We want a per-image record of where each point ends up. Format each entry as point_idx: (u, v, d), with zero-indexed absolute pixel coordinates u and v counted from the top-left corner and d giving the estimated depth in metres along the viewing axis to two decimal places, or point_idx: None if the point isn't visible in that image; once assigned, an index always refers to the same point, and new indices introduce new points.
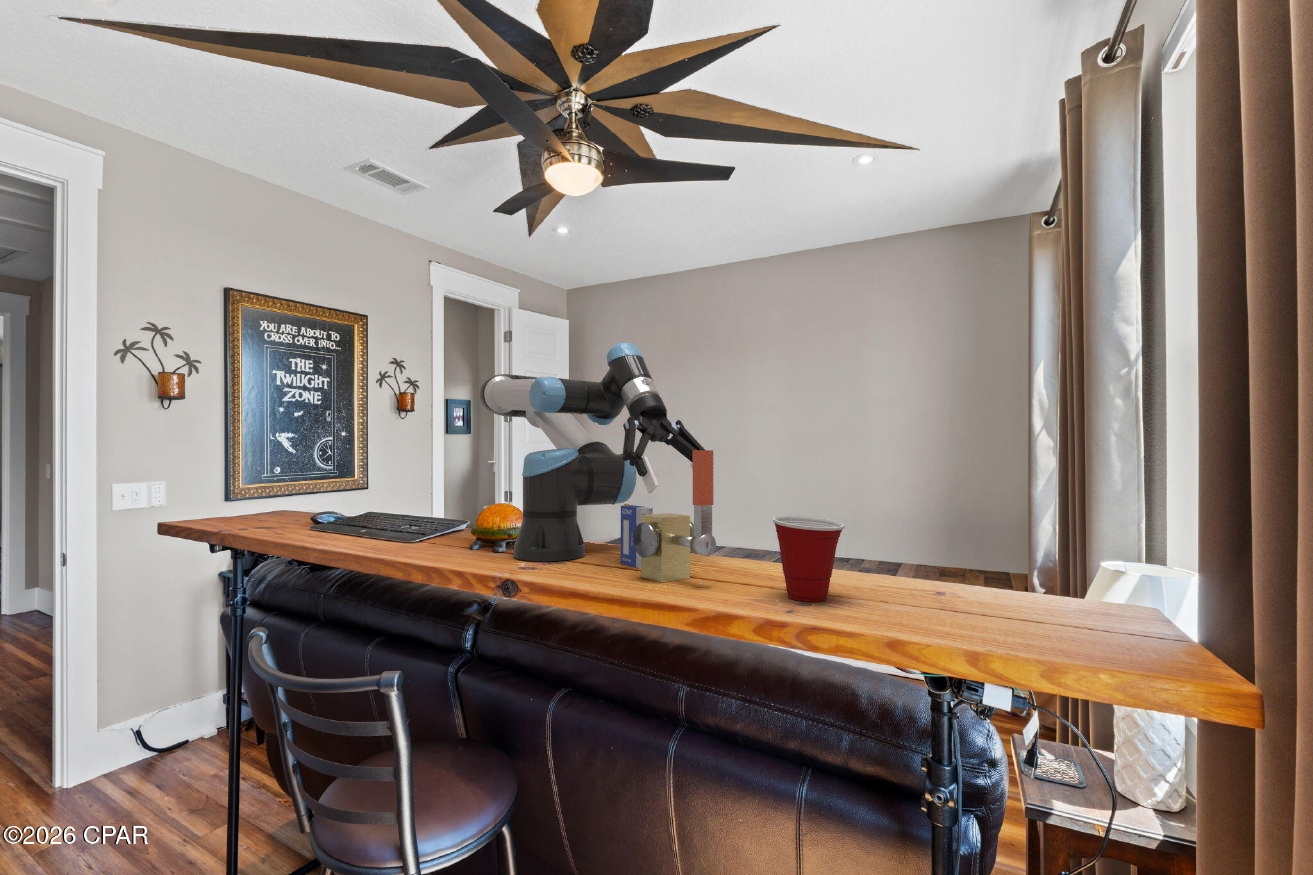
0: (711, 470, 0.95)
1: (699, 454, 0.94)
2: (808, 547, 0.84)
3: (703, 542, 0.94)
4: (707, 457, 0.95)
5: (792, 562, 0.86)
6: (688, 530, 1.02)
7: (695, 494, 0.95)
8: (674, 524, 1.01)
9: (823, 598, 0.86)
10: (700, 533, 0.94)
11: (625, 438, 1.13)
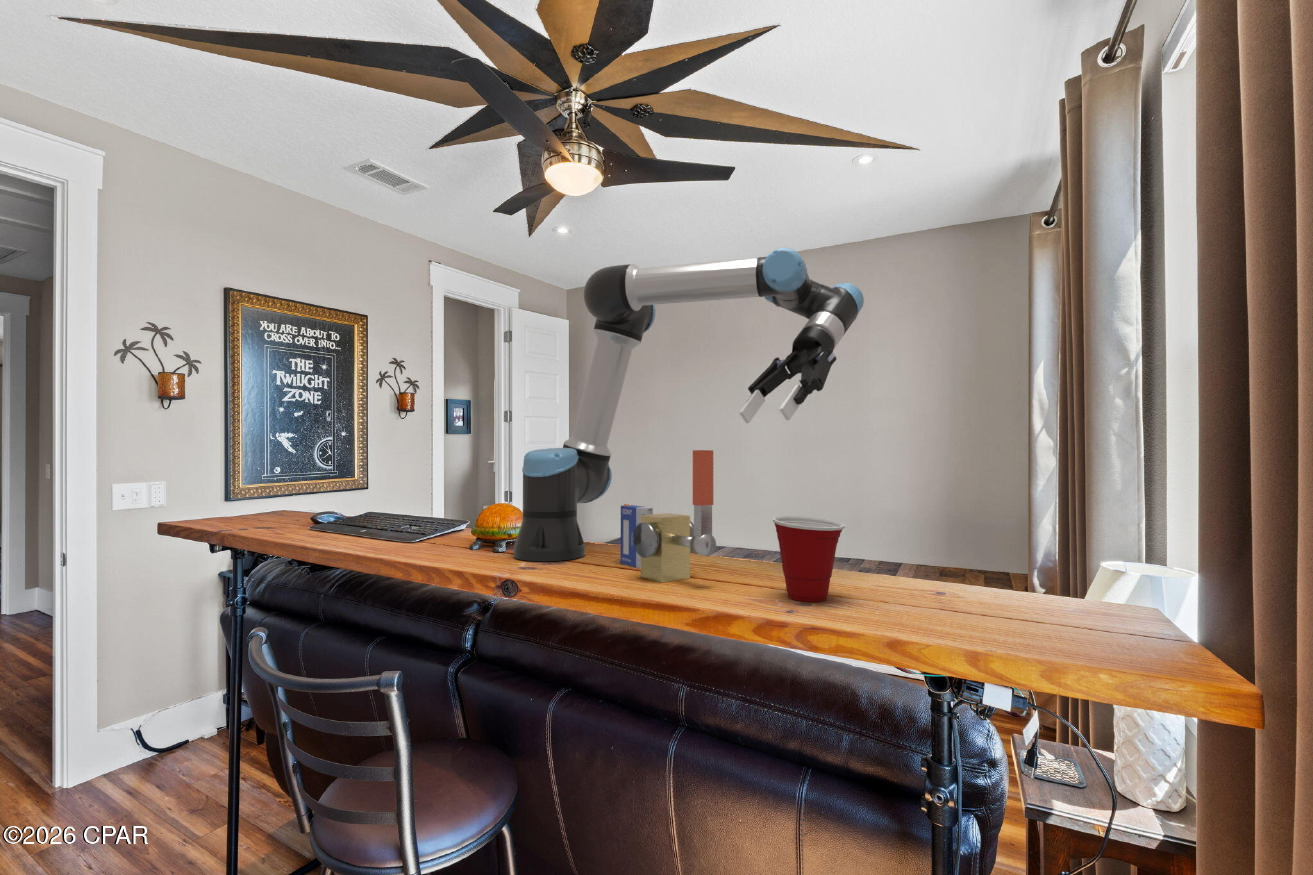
0: (711, 470, 0.95)
1: (699, 454, 0.94)
2: (808, 547, 0.84)
3: (703, 542, 0.94)
4: (707, 457, 0.95)
5: (792, 562, 0.86)
6: (688, 530, 1.02)
7: (695, 494, 0.95)
8: (674, 524, 1.01)
9: (823, 598, 0.86)
10: (700, 533, 0.94)
11: (824, 364, 1.05)
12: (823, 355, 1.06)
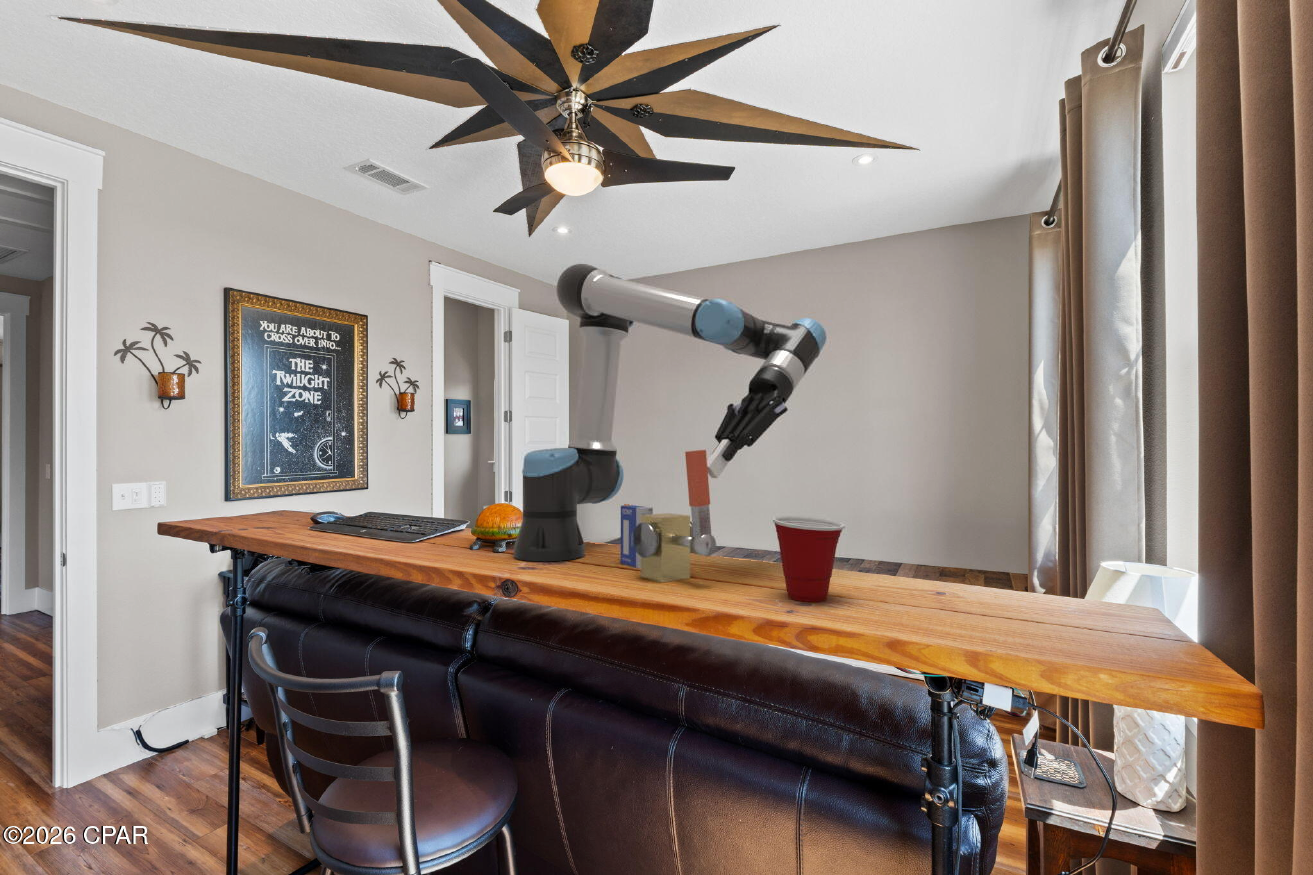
0: (705, 470, 0.95)
1: (692, 455, 0.93)
2: (808, 547, 0.84)
3: (703, 543, 0.94)
4: (700, 457, 0.94)
5: (792, 562, 0.86)
6: (688, 530, 1.02)
7: (691, 495, 0.94)
8: (674, 524, 1.01)
9: (823, 598, 0.86)
10: (699, 534, 0.94)
11: (764, 418, 0.98)
12: (770, 405, 0.99)
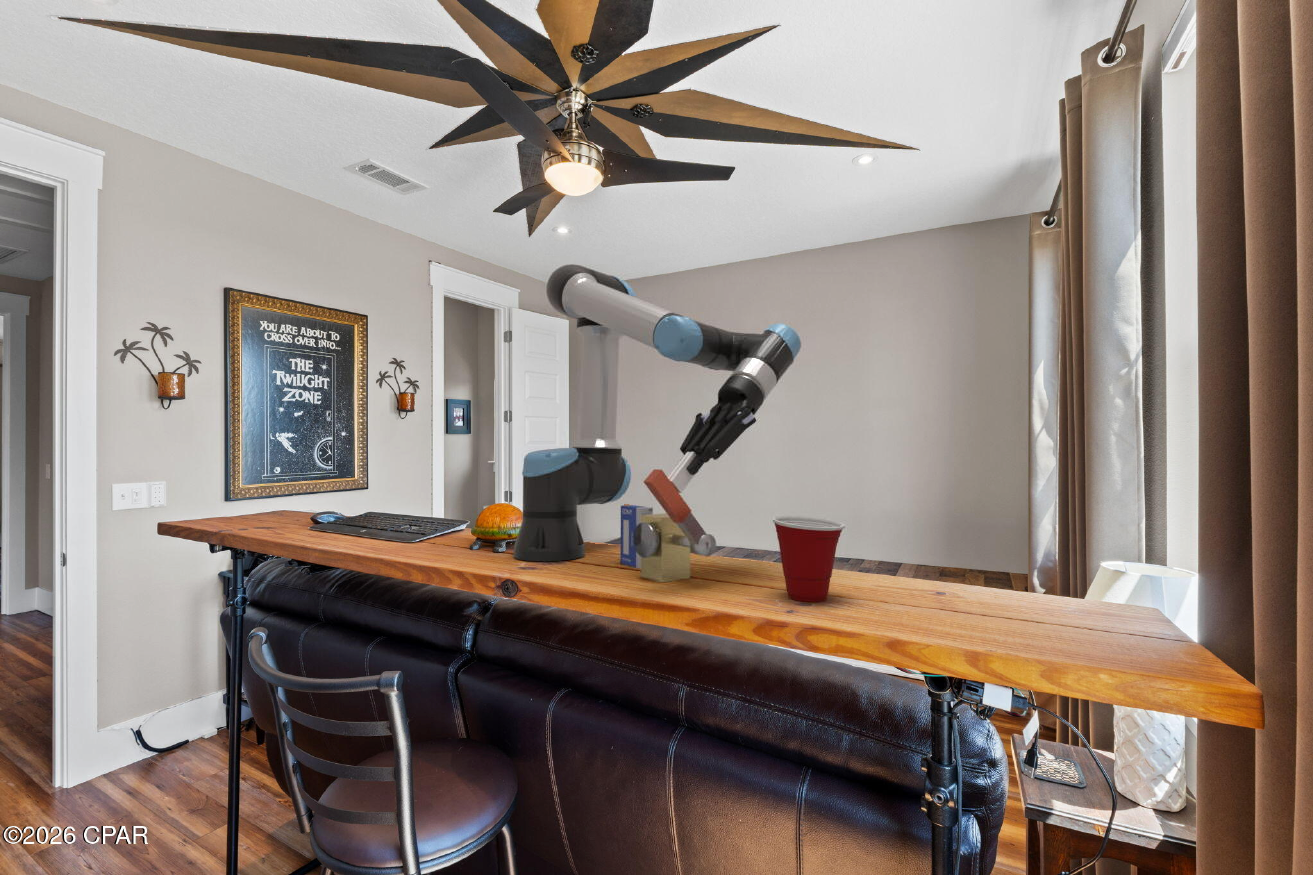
0: (671, 487, 0.90)
1: (652, 485, 0.88)
2: (808, 547, 0.84)
3: (703, 547, 0.94)
4: (660, 481, 0.89)
5: (792, 562, 0.86)
6: None
7: (670, 515, 0.92)
8: (674, 524, 1.01)
9: (823, 598, 0.86)
10: (695, 542, 0.93)
11: (731, 429, 0.93)
12: (738, 416, 0.94)
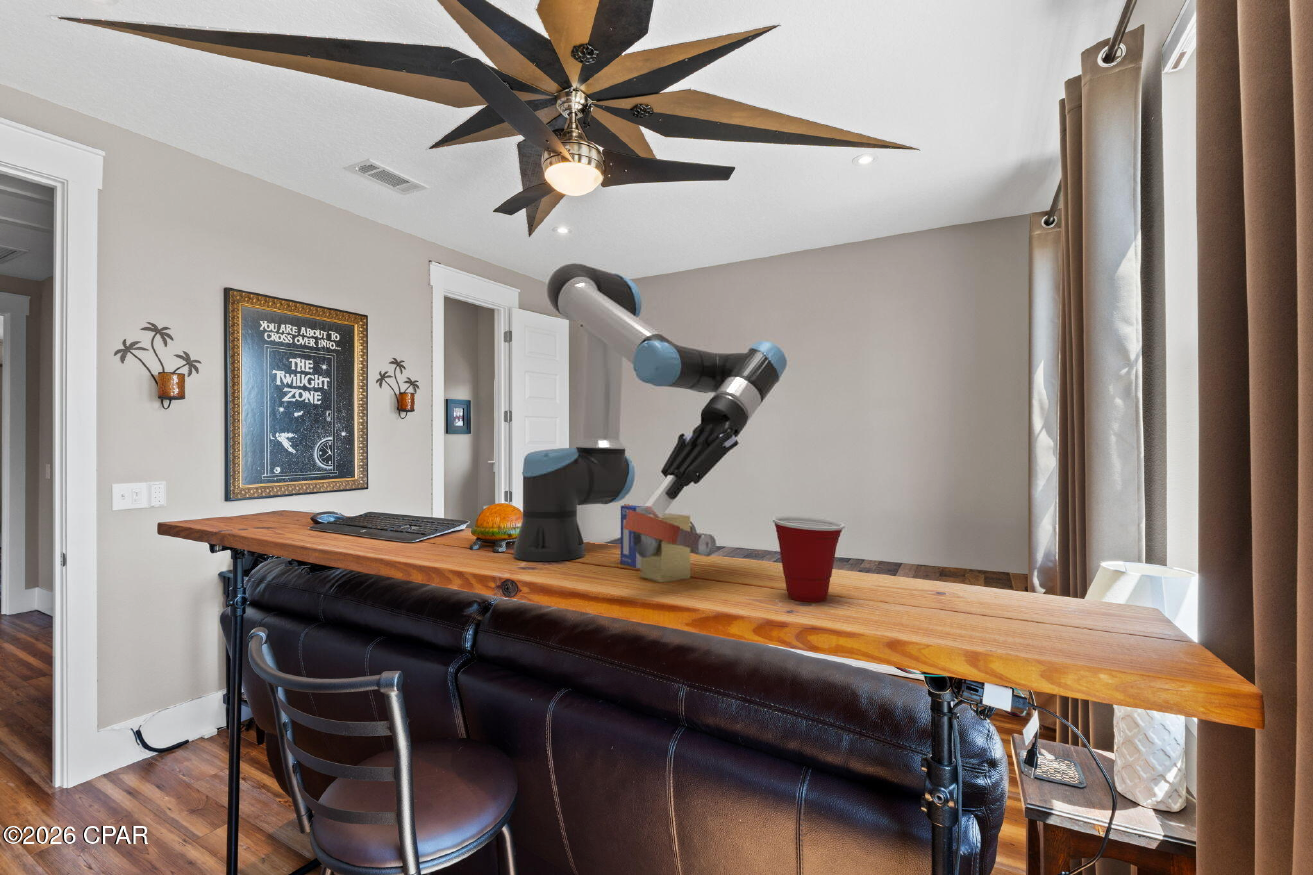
0: (652, 520, 0.88)
1: (633, 530, 0.86)
2: (808, 547, 0.84)
3: (704, 550, 0.94)
4: (639, 522, 0.86)
5: (792, 562, 0.86)
6: (688, 530, 1.02)
7: (662, 540, 0.90)
8: (674, 524, 1.01)
9: (823, 598, 0.86)
10: (695, 549, 0.93)
11: (712, 453, 0.91)
12: (719, 439, 0.91)
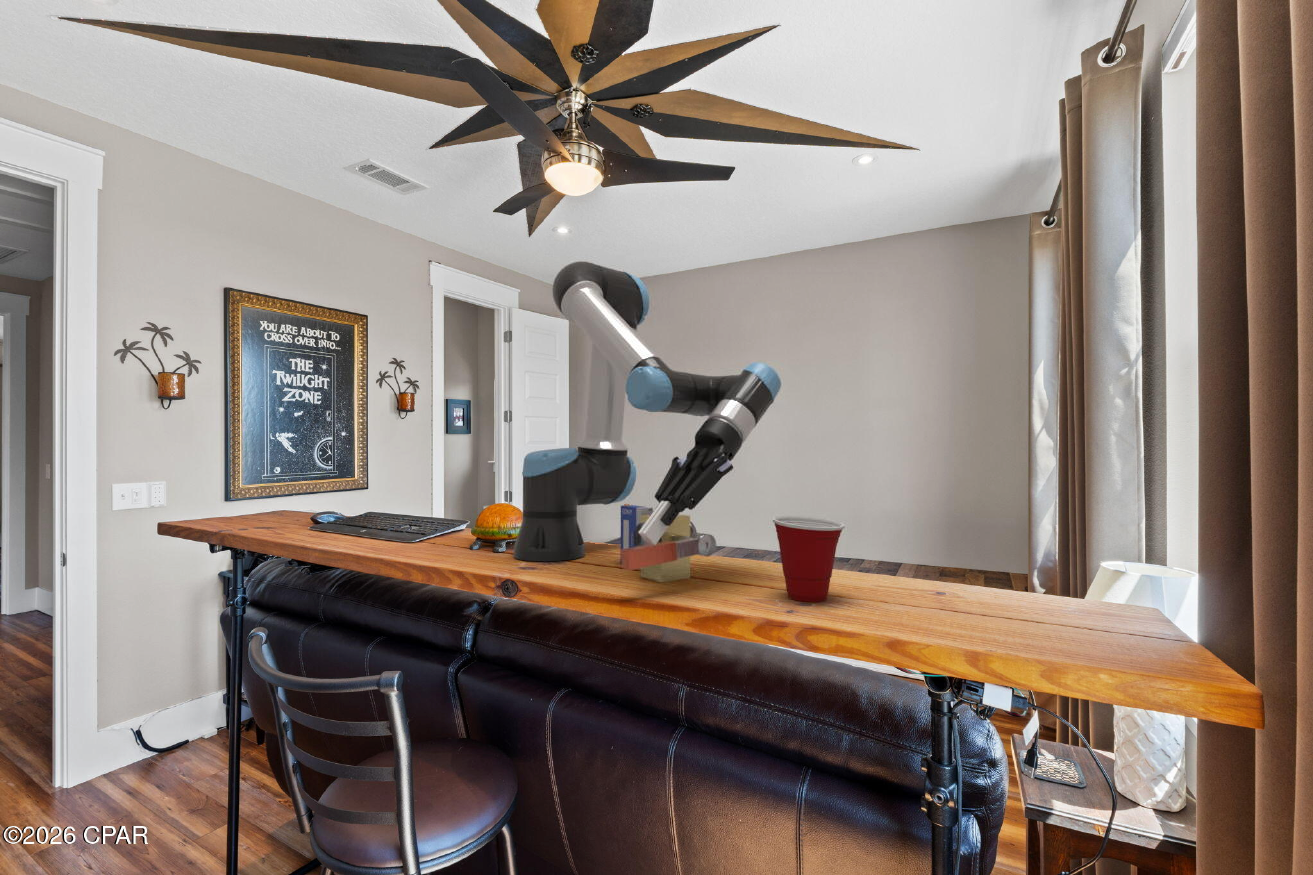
0: (647, 551, 0.87)
1: None
2: (808, 547, 0.84)
3: (705, 551, 0.94)
4: (635, 558, 0.86)
5: (792, 562, 0.86)
6: (688, 530, 1.02)
7: None
8: (674, 524, 1.01)
9: (823, 598, 0.86)
10: None
11: (707, 478, 0.89)
12: (714, 464, 0.90)
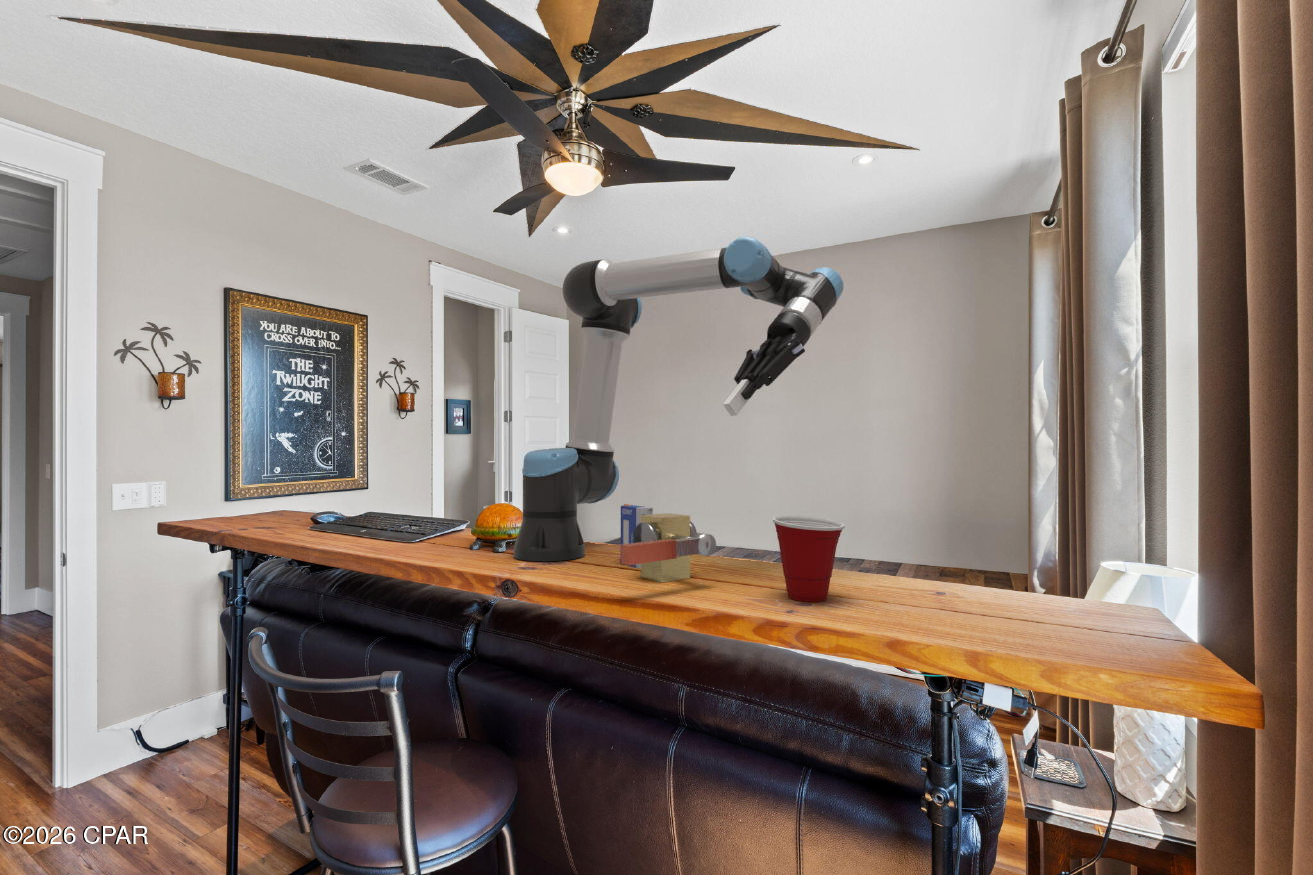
0: (647, 547, 0.87)
1: None
2: (808, 547, 0.84)
3: (705, 551, 0.94)
4: (635, 554, 0.86)
5: (792, 562, 0.86)
6: (688, 530, 1.02)
7: None
8: (674, 524, 1.01)
9: (823, 598, 0.86)
10: (696, 553, 0.93)
11: (782, 358, 1.01)
12: (788, 347, 1.02)
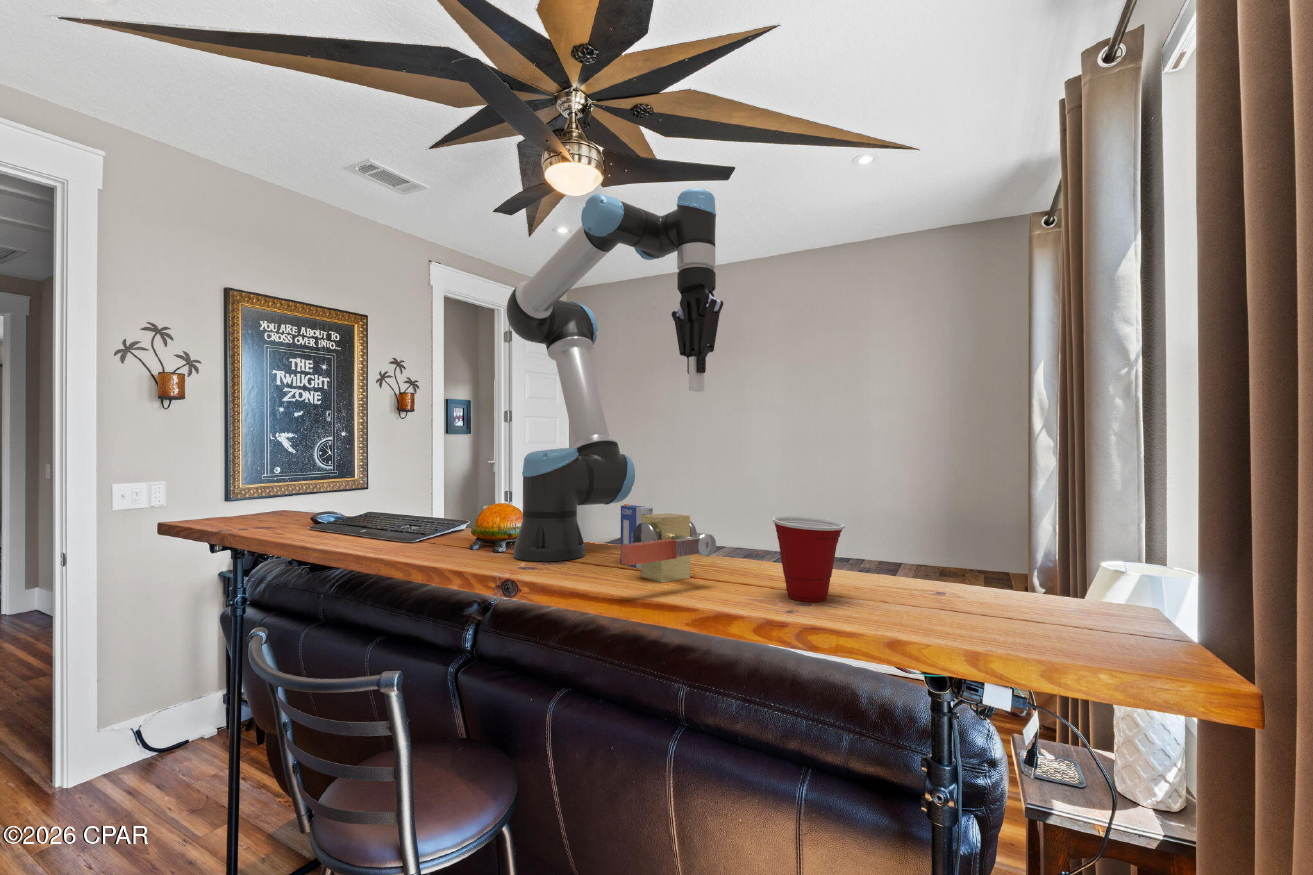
0: (647, 547, 0.87)
1: None
2: (808, 547, 0.84)
3: (705, 551, 0.94)
4: (635, 554, 0.86)
5: (792, 562, 0.86)
6: (688, 530, 1.02)
7: None
8: (674, 524, 1.01)
9: (823, 598, 0.86)
10: (696, 553, 0.93)
11: (710, 323, 1.09)
12: (708, 309, 1.09)
